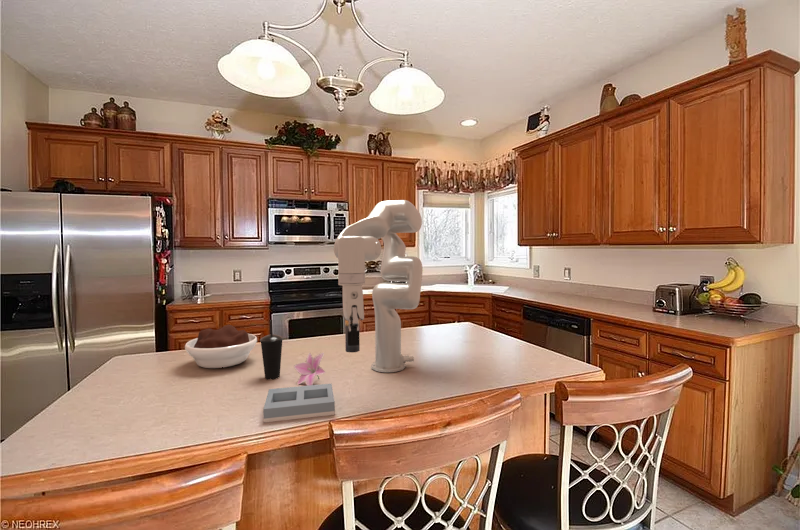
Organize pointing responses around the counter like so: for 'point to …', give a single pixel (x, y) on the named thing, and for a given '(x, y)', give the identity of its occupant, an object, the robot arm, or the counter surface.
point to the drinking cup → (271, 354)
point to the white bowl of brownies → (221, 347)
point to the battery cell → (348, 348)
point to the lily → (309, 369)
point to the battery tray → (299, 402)
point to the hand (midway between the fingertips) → (352, 342)
